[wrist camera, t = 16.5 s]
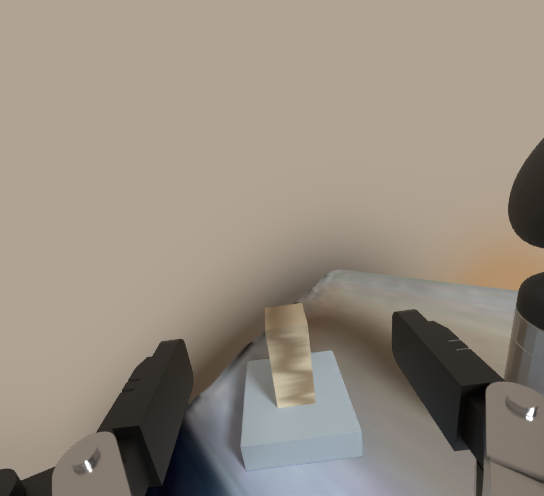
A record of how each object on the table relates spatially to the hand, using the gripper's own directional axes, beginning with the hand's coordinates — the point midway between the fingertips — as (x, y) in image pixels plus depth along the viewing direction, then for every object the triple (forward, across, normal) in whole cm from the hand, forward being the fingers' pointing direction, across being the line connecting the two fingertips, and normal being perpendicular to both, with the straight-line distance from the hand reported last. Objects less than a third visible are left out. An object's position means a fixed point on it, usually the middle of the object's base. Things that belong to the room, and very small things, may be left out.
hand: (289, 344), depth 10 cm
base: (+21, 0, +28) cm, 35 cm away
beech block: (+21, 0, +24) cm, 32 cm away
